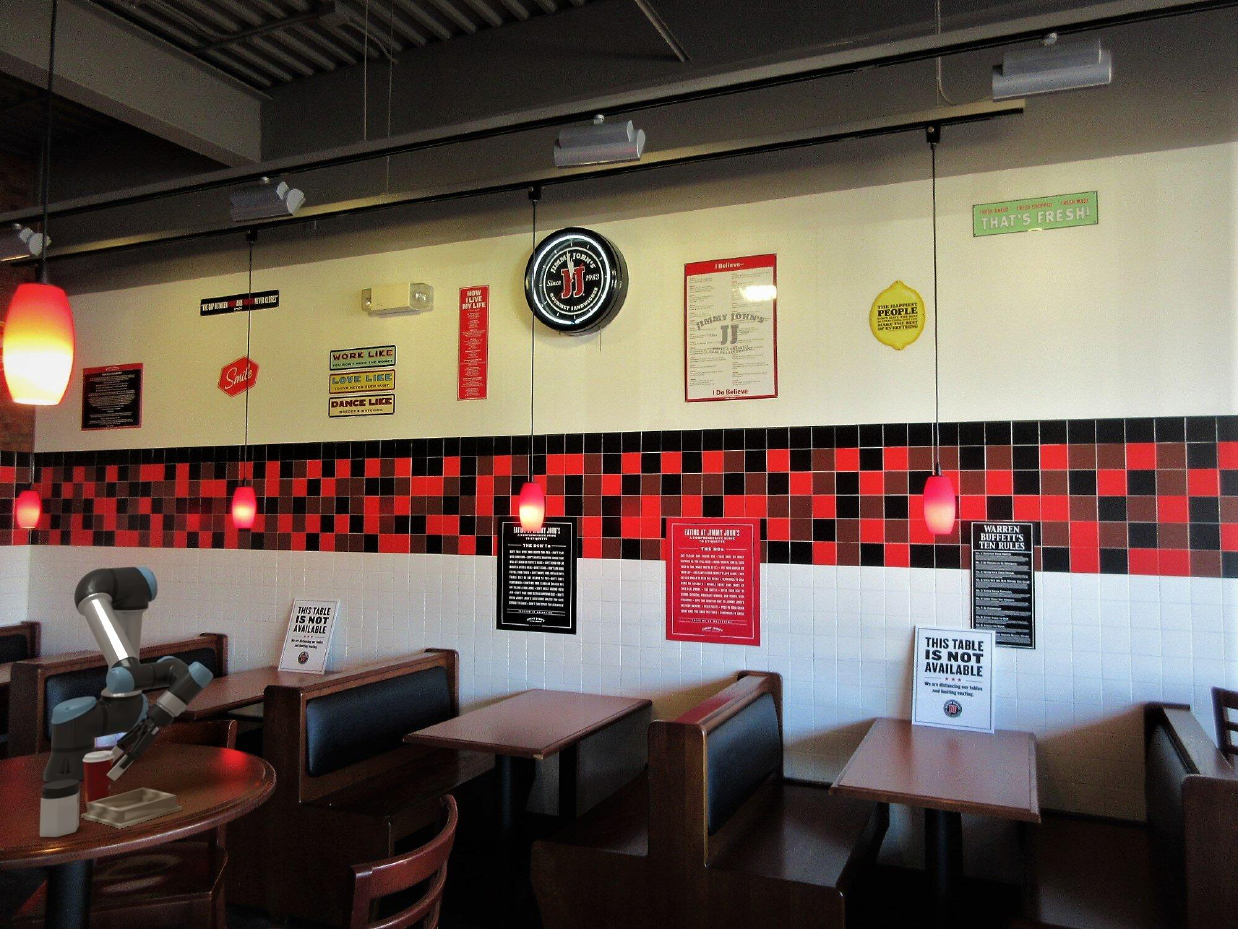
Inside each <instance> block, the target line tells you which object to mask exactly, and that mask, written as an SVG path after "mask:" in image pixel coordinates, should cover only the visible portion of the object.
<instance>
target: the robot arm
mask: <svg viewBox="0 0 1238 929" xmlns="http://www.w3.org/2000/svg"><path fill="white" fill-rule="evenodd" d="M158 590H159V589H158V580H157V578H156V575H155V574H154V572H153V570H151V569H150V568H148V567H145V566H125V567H124V566H123V567H109V568H108V567H107V568H106V567H102V568H96V569H94V570H91V571H89V572H87V573H86V574H85V575H84V576H83V577H82V578H80V580H79V581H78V583H77V585H76V587H75V589H74V593H73V598H74V600H73V601H74V604H75V608H76V610H77V612H78V614H80V615H81V616H83V617H85V620H86V621H87V624H88V626H89V627H90V630H91V632H92V634H93V636H94V639H95V640H96V642H97V644H98V648H99V649H100V650H101V653H102V655H103V658H104V660H105V661H106V664H107V665H108V667H107V668H108V671H107V674H106V679H105V682H106V687H104V689H103V690H102V691H101V693H100V699H97V698H96V697H95V696H82V697H75V698H72V699H71V698H70V699H68V700H64V701H61V702H60V703H58V704H57V705H56V706H55V707H54V708H53V709H52V717H51V720H50V723H51V739H50V740H51V747H50V750H51V751H50V756H49V758H48V761H47V763H46V767H45V769H44V771H43V781H44V782H46V783H50V782H54V781H59V780H68V779H74V780H78V781H79V782H80V781H83V780H84V781H85V779H84V762H83V759H84V756H85V755H86V754H88V753H92V752H97V751H96V739H97V738H101V737H107V736H113V735H116V734H117V735H118V734H124V735H123V736H121V737H119V739H117V740H116V745H114V747H113V748H112V749H111V750H110V751H112V752H113V755H114V758H113V763H115V761H116V760H118V758H120V756H121V755H123V753H124V756H123V757H122V758H121V759H119V761H118V762H117V763H116V764H115V766H112V770H111V771H110V772H109V773H108V774H107V776H108V777H110V778H111V780H112V781H116V780H117V779H118V778H119V777H121V775H122V774H123V773H124V772H125V771H126V770H127V769H128V768H129V767H130V766H131V765H132V764H133V762H134V761H138V760H140V759H141V758H142V756H143V754H144V753H145V752H146V750H147V749H148V748H149V746H150V745H151V743H153V741H154V740H155V738H156V737H157V736H158V735H159V734H160V733H161V731H162V730H161V729H160V728H159V727H161V728H163V729H165V730H166V729H167V728H168V727H169V726H170V725H171V724H173V722H174V721H175V717H178V716H179V715H180V714H181V713H184V712H185V711H186V708H187V706H189V705H190V704H191V702H193V700H194V699H195V698H196V697H198V695H199V694H200V693H201V692H202V691H203V690H205V688H206V687H207V685H208V684H209V683H211V681H212V679H213V678H214V674H213V673H212V672H211V671H210V669H208V668H207V667H205V665H203V664H202V663H200V662H199V661H194V662H192V664H190V665H188V664H186V663H185V662H184V661H183V660H181V659H179V658H177V657H176V656H175V657H174V656H171V655H167V656H163V657H162V658H160V659H158V660H157V661H156V662H150V663H142V664H141V662H140V650H141V641H142V640H141V638H142V628H143V627H142V626H143V614H144V612H146V611H147V610H148V609H149V603H151V602H153V601H155V600H156V598H157V595H158ZM164 687H168V688H167V690H165V691H164V692H163V693H162V694H161V695H160V696H159V697H158V698H157V700H156V703H153V704H152V705H151V706H150V707H149V703H148V702H149V701H148V698H147V696H146V695H145V694H144V693H143V692H142V691H145V690H152V689H159V688H164ZM147 717H148V718H147ZM131 745H132V747H131V749H130V750H129V751H127V750H128V748H129V747H130V746H131Z"/></svg>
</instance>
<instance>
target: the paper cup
mask: <svg viewBox="0 0 1238 929" xmlns="http://www.w3.org/2000/svg"><path fill="white" fill-rule="evenodd" d="M113 758H114V755H113V752H112V751H111V750H100V751H96V752H92V753H88V754H86V755H85V756H84V759H83V762H84V799H85V807H86V808H87V803H88V802H92V801H96V800H99V799H103V798H107V797H110V796H111V786H112V779H111V778H110V777H108V776H107V774H108V773H109V772H110V771H111V770H112V769H113V764H114V762H113Z"/></svg>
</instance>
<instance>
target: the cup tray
mask: <svg viewBox="0 0 1238 929" xmlns="http://www.w3.org/2000/svg"><path fill="white" fill-rule="evenodd" d="M177 796H178V795H176V794H173V793H172V794H171V793H169V792H164V791H160V790H156V789H153V788H152V789H151V788H148V787H139V788H136V789H133V790H130V791H125V792H122V793H118V794H115V795H110V797H107V798H103V799H99V800H96V801H92V802H88V803H87V807H86V811H87V812H85V813H82V814H81V815H80V816H81V817H80V818H81V819H82V818H84V819H83V820H85V821H89V820H90V822H92V821H93V822H94V823H96V822H98V823H97V824H99V823H102V824H101V825H103V824H105V825H104V826H106V825H109V826H108V827H110V826H113V827H115V828H114V829H116V828H118V830H122V829H121V828H123V829H126V828H128V827H127V826H129V827H132V826H135V825H139V824H141V822H142V823H146V822H148V821H147V820H149V821H151V820H150V819H152V820H154V819H153V818H155V819H157V818H156V817H159V818H161V817H160V816H162V817H164V816H163V815H165V816H167V814H168V815H170V814H169V813H172V814H174V813H177V812H181V811H182V810H183V806H181V805H178V804H177V801H178V798H177ZM138 823H139V824H138ZM113 827H112V828H113ZM125 827H126V828H125Z"/></svg>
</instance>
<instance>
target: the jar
mask: <svg viewBox="0 0 1238 929" xmlns="http://www.w3.org/2000/svg"><path fill="white" fill-rule="evenodd" d="M40 795H41V798H40V812H39V813H40V816H39V837H40V838H58V837H63V836H67V835H71V834H74V833H76V832H77V831H78V828H79V827H80V825H79V824H80V799H81V798H80V797H81V796H80V795H81V790H80V780H79V781H78V780H74V779H68V780H59V781H54V782H50V783H49V782H46V783H45V784H43V785H42V786H41V794H40Z"/></svg>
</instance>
